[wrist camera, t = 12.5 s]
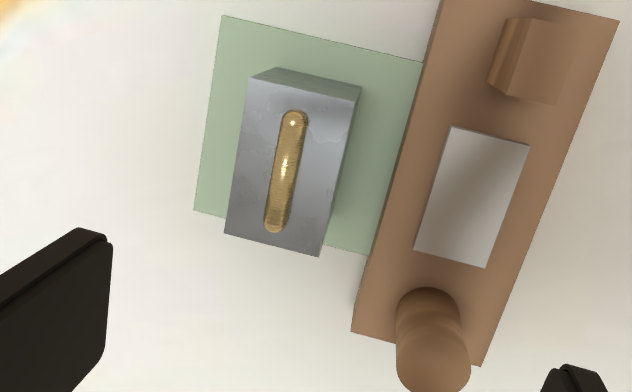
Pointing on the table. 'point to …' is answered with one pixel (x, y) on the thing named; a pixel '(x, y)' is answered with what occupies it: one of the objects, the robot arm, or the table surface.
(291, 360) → the table surface
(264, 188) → the lever cap
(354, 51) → the mat
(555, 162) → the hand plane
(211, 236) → the table surface
